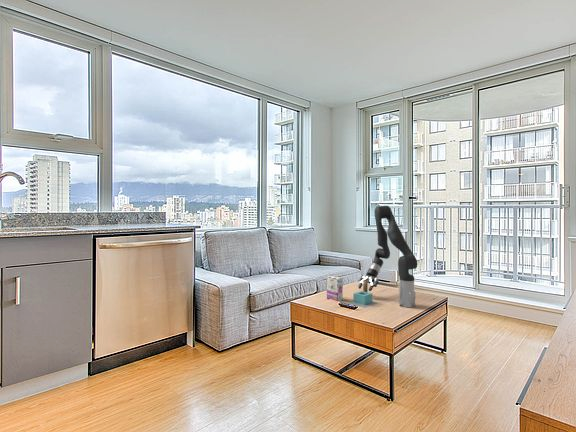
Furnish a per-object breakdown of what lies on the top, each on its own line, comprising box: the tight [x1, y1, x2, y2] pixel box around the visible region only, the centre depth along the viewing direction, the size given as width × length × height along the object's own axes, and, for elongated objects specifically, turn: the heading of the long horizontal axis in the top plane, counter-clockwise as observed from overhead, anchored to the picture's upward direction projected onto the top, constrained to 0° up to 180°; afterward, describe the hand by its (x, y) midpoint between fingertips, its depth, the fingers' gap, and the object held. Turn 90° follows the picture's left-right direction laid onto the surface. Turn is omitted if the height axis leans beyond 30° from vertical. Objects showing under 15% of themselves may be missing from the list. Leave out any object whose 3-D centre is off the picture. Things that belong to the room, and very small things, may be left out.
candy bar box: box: [326, 275, 344, 302], centre depth 234 cm, size 11×5×16 cm, turn 37°
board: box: [348, 300, 379, 308], centre depth 225 cm, size 14×16×1 cm
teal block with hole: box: [352, 290, 373, 305], centre depth 227 cm, size 9×9×6 cm
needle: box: [362, 279, 369, 293], centre depth 237 cm, size 3×3×14 cm
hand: (364, 289), depth 236 cm, fingers open, 8 cm apart
